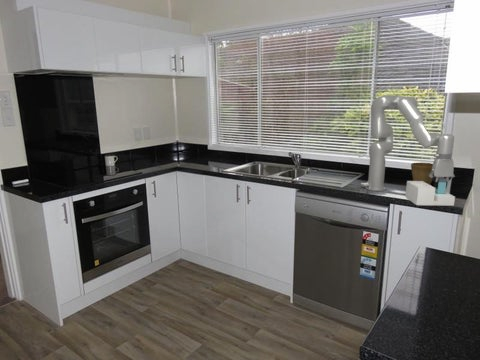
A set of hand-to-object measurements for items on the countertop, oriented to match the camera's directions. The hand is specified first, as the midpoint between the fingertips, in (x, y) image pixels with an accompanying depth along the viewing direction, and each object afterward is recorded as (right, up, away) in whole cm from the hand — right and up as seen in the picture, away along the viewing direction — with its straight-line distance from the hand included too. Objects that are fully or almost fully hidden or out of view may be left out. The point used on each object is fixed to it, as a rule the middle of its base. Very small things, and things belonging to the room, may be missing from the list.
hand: (440, 187), depth 198 cm
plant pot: (+5, -1, +30) cm, 30 cm away
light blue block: (0, -5, +1) cm, 5 cm away
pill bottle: (+10, -5, +15) cm, 18 cm away
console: (-5, -8, +2) cm, 10 cm away
